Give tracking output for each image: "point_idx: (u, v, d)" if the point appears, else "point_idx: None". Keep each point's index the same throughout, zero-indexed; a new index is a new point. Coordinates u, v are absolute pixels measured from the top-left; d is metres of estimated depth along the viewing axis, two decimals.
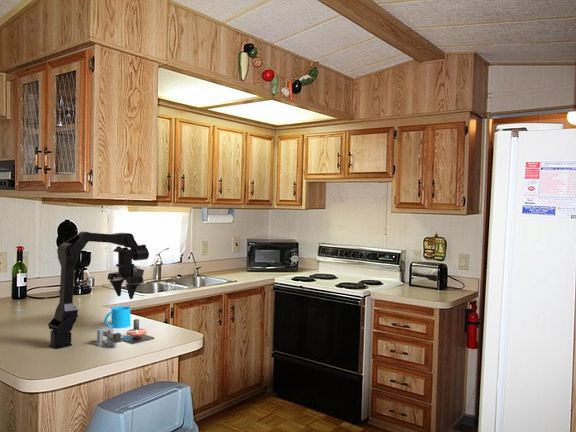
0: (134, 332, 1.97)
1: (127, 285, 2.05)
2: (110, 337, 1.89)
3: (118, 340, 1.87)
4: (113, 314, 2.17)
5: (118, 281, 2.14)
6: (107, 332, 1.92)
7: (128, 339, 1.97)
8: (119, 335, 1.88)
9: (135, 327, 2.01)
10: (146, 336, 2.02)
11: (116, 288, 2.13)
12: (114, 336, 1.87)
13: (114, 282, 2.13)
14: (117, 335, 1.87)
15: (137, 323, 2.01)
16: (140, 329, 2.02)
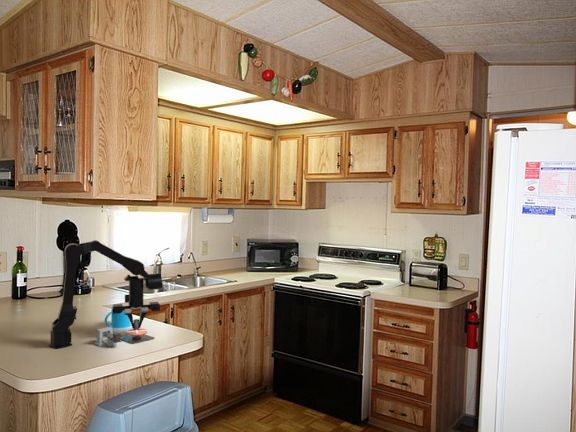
0: (134, 332, 1.97)
1: (144, 313, 2.00)
2: (110, 337, 1.89)
3: (118, 340, 1.87)
4: (113, 314, 2.17)
5: (131, 313, 2.01)
6: (107, 332, 1.92)
7: (128, 339, 1.97)
8: (119, 335, 1.88)
9: (135, 327, 2.01)
10: (146, 336, 2.02)
11: (132, 320, 2.00)
12: (114, 336, 1.87)
13: None
14: (117, 335, 1.87)
15: (137, 323, 2.01)
16: (140, 329, 2.02)
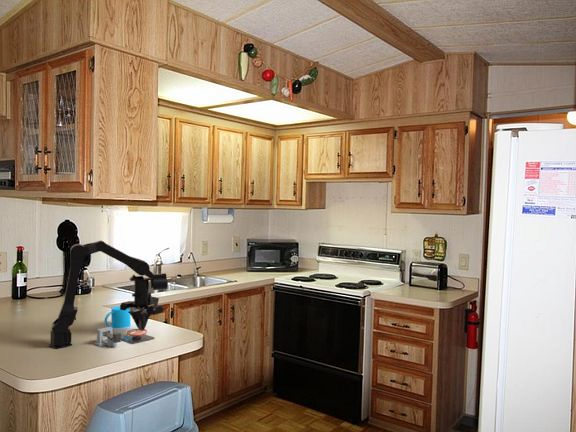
0: (132, 332, 1.98)
1: (141, 315, 1.98)
2: (110, 337, 1.89)
3: (118, 340, 1.87)
4: (113, 314, 2.17)
5: (138, 312, 2.03)
6: (107, 332, 1.92)
7: (128, 339, 1.97)
8: (119, 335, 1.88)
9: (139, 327, 2.01)
10: (146, 336, 2.02)
11: (136, 319, 2.02)
12: (114, 336, 1.87)
13: (134, 313, 2.01)
14: (117, 335, 1.87)
15: (140, 323, 2.01)
16: (143, 330, 2.01)
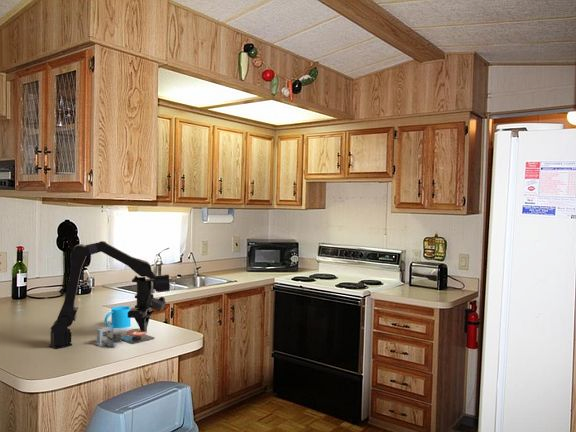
0: (133, 330, 2.00)
1: None
2: (110, 337, 1.89)
3: (118, 340, 1.87)
4: (113, 314, 2.17)
5: None
6: (107, 332, 1.92)
7: (128, 339, 1.97)
8: (119, 335, 1.88)
9: None
10: (146, 336, 2.02)
11: None
12: (114, 336, 1.87)
13: None
14: (117, 335, 1.87)
15: None
16: (141, 332, 1.98)
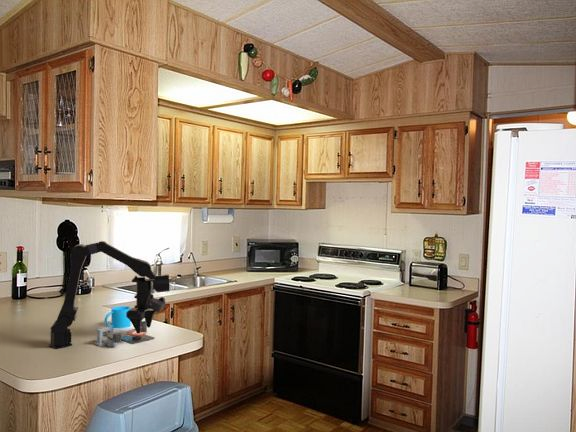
0: (133, 330, 2.01)
1: None
2: (110, 337, 1.89)
3: (118, 340, 1.87)
4: (113, 314, 2.17)
5: (149, 311, 2.04)
6: (107, 332, 1.92)
7: (128, 339, 1.97)
8: (119, 335, 1.88)
9: None
10: (146, 336, 2.02)
11: (145, 318, 2.04)
12: (114, 336, 1.87)
13: (144, 312, 2.04)
14: (117, 335, 1.87)
15: (141, 325, 1.99)
16: (140, 332, 1.98)
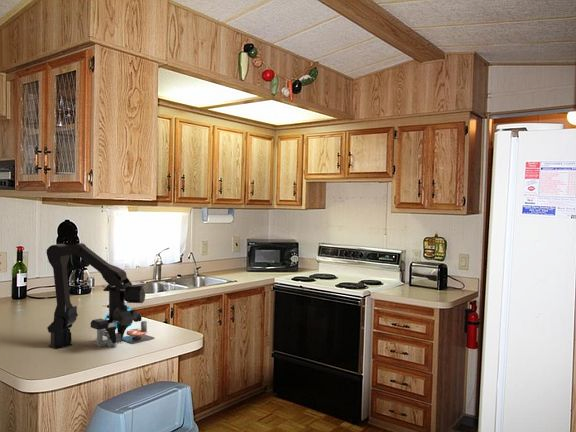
0: (133, 330, 2.01)
1: None
2: None
3: (118, 340, 1.87)
4: None
5: (120, 325, 1.89)
6: (107, 332, 1.92)
7: (128, 339, 1.97)
8: (119, 335, 1.88)
9: None
10: (146, 336, 2.02)
11: (118, 332, 1.90)
12: None
13: (118, 324, 1.90)
14: (117, 335, 1.87)
15: (141, 325, 1.99)
16: (140, 332, 1.98)
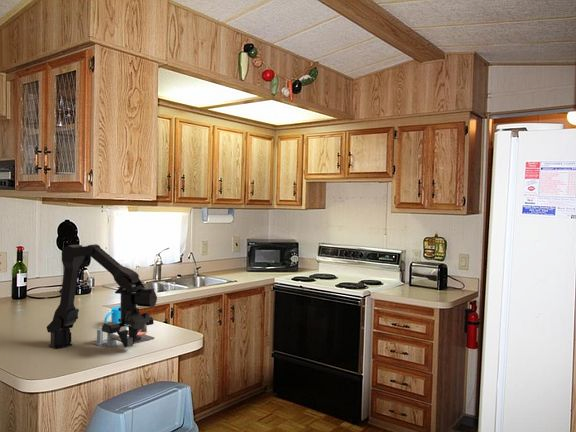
0: None
1: None
2: (121, 341, 1.84)
3: (130, 344, 1.82)
4: (113, 314, 2.17)
5: (132, 328, 1.84)
6: (118, 336, 1.87)
7: None
8: (131, 339, 1.83)
9: None
10: (146, 336, 2.02)
11: (129, 335, 1.85)
12: None
13: (129, 328, 1.85)
14: (129, 339, 1.82)
15: None
16: (140, 332, 1.98)
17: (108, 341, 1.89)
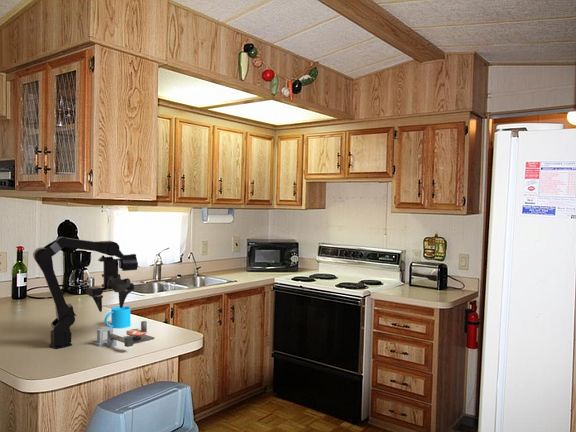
0: (133, 330, 2.01)
1: None
2: (121, 341, 1.84)
3: (130, 344, 1.82)
4: (113, 314, 2.17)
5: (122, 292, 2.03)
6: (118, 336, 1.87)
7: None
8: (131, 339, 1.83)
9: None
10: (146, 336, 2.02)
11: (119, 298, 2.04)
12: (126, 340, 1.82)
13: (119, 292, 2.04)
14: (129, 339, 1.82)
15: (141, 325, 1.99)
16: (140, 332, 1.98)
17: (108, 341, 1.89)
